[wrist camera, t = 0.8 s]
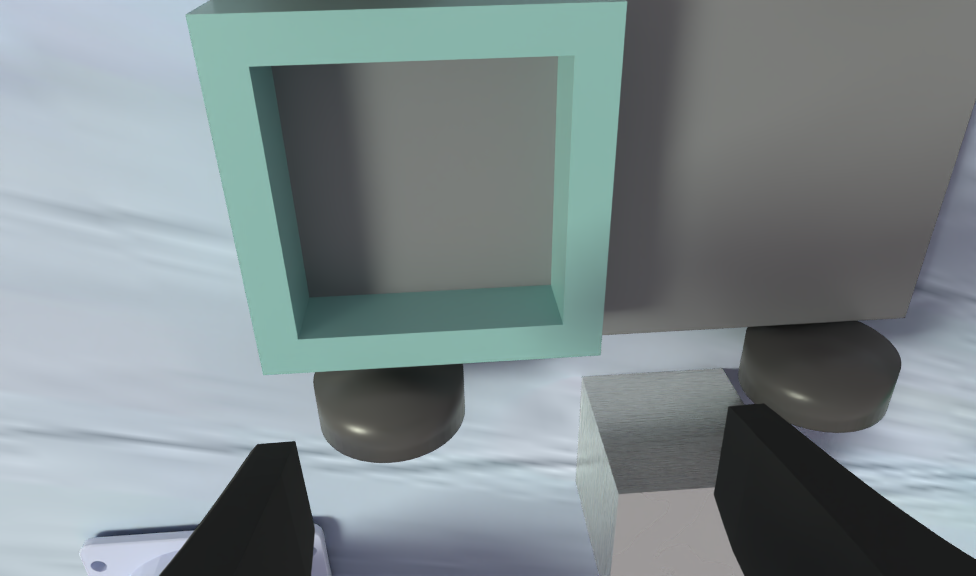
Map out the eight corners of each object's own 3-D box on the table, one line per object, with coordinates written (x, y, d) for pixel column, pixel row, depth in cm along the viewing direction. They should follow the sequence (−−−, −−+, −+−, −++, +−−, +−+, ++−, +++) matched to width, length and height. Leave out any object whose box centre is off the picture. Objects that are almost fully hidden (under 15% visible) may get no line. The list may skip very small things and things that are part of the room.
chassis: (873, 340, 23) (954, 425, 19) (295, 375, 22) (270, 470, 18) (1019, -139, 16) (1182, -143, 13) (202, -123, 15) (135, -122, 12)
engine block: (702, 471, 25) (760, 595, 21) (574, 480, 25) (607, 607, 20) (721, 366, 23) (791, 481, 18) (581, 375, 23) (618, 494, 18)
